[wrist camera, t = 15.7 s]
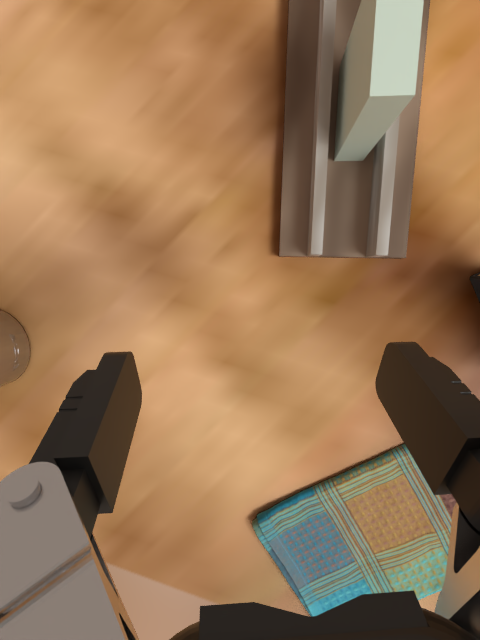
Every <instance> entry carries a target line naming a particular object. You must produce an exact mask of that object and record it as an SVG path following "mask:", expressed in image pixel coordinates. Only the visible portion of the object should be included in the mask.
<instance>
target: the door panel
mask: <svg viewBox="0 0 480 640" xmlns="http://www.w3.org/2000/svg"><path fill="white" fill-rule="evenodd" d="M423 4H424V0H361V3H360V6H359V9H358V12H357V15H356V18H355V22H354V25H353V28H352V31H351V34H350V37H349V40H348V43H347V46H346V49H345V52H344V55H343V58H342V61H341V64H340V70H339V87H338V104H337V121H336V138H335V155H334V161H363V160H364V159H365V157H366V156H367V155H368V154H369V152H370V151H371V150H372V149H373V147H374V146H375V145H376V144H377V142H378V141H379V140H380V139H381V137H382V136H383V135H384V134H385V132H386V131H387V130H388V128H389V127H390V126H391V125H392V123H393V122H394V121H395V120H396V118H397V117H398V116H399V115H400V113H401V112H402V111H403V110H404V108H405V107H406V106H407V105H408V103H409V102H410V101H411V100H412V98H413V97H414V96H415V92H416V81H417V70H418V59H419V48H420V37H421V26H422V15H423Z"/></svg>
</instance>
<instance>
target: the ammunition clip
mask: <svg viewBox="0 0 480 640" xmlns="http://www.w3.org/2000/svg"><path fill="white" fill-rule="evenodd" d="M470 281H471V283H472V285H473V288H474V290H475V293H476V295H477V298H478V300H479V302H480V272H479V273H477V274H475V275H473V276H471V277H470Z"/></svg>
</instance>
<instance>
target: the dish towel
mask: <svg viewBox="0 0 480 640" xmlns="http://www.w3.org/2000/svg"><path fill="white" fill-rule="evenodd" d="M455 504H456V500H455V499H454V497H453V495H452V494H445V495H434V494H433V493H432V491H431V489H430V487H429V486H428V484H427V482H426V480H425V479H424V477H423V475H422V473H421V471H420V470H419V468H418V466H417V464H416V463H415V461H414V459H413V457H412V456H411V454H410V452H409V450H408V449H407V447H406V445H405V444H403V445H400V446H398V447H396V448H394V449H392V450H390V451H388V452H386V453H384V454H383V455H380V456H378V457H376V458H375V459H372V460H370V461H368V462H365V463H363V464H361V465H359V466H356V467H355V468H352V469H351V470H348V471H346V472H344V473H341V474H339V475H338V476H335V477H332V478H330V479H328V480H325V481H323V482H321V483H319V484H317V485H315V486H312V487H310V488H308V489H306V490H303V491H301V492H299V493H297V494H295V495H294V496H292V497H289V498H288V499H286V500H283V501H281V502H280V503H278V504H276V505H274V506H273V507H272V508H270V509H268V510H266V511H264V512H261V513H259V514H257V518H256V519H254V520H253V521H252V526H253V529H254V531H255V533H256V535H257V537H258V538H259V540H260V541H261V543H262V544H263V546H264V547H265V548H266V550H267V551H268V552H269V554H270V555H271V557H272V558H273V560H274V561H275V563H276V564H277V566H278V567H279V569H280V570H281V572H282V574H283V575H284V577H285V578H286V580H287V582H288V583H289V585H290V586H291V588H292V589H293V591H294V592H295V593H296V595H297V596H298V598H299V599H300V601H301V603H302V604H303V605H304V607H305V608H306V610H307V611H308V613H309V614H310V615H311V617H312V616H317V615H319V614H321V613H323V612H326V611H328V610H330V609H332V608H334V607H336V606H338V605H341V604H343V603H345V602H347V601H349V600H351V599H353V598H356V597H358V596H360V595H362V594H373V593H387V592H400V591H414V592H415V594H416V597H417V599H418V600H419V599H421V598H424V597H426V596H428V595H431V594H434V593H436V592H438V591H441V590H442V587H443V584H444V581H445V576H446V568H447V559H448V549H449V540H450V531H451V522H452V513H453V508H454V506H455Z"/></svg>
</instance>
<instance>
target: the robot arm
mask: <svg viewBox="0 0 480 640" xmlns="http://www.w3.org/2000/svg"><path fill="white" fill-rule="evenodd" d="M29 358H30V346H29V340H28V338H27V335H26V333H25V331H24V329H23V328H22V326H21V325H20V324H19V323H18V321H17V320H16V319H15V318H13V317H12V316H11V315H9V314H8V313H6V312H4V311H2V310H0V386H3V385H5V384H7V383H10V382H12V381H14V380H16V379H17V378H19V377H20V376H21V375H22V373H23V372H24V371H25V369H26V367H27V365H28V362H29ZM376 391H377V395H378V397H379V399H380V401H381V403H382V404H383V406H384V408H385V410H386V412H387V413H388V415H389V417H390V419H391V420H392V422H393V424H394V426H395V427H396V429H397V431H398V433H399V434H400V436H401V438H402V440H403V441H404V443H405V445H406V447H407V449H408V450H409V452H410V454H411V456H412V457H413V459H414V461H415V463H416V464H417V466H418V468H419V470H420V471H421V473H422V475H423V477H424V479H425V480H426V482H427V484H428V486H429V487H430V489H431V491H432V493H433V494H434V495H445V494H452V495H453V497H454V499H455V500H456V504H455V506H454V508H453V513H452V522H451V531H450V540H449V549H448V559H447V568H446V576H445V581H444V584H443V587H442V590H441V592H440V594H439V597H438V600H437V604H436V608H435V613H434V612H431V611H429V610H426V609H423V608H421V607H420V604H419V602H418V599H417V597H416V594H415V592H414V591H400V592H387V593H373V594H362V595H360V596H358V597H356V598H353V599H351V600H349V601H347V602H345V603H343V604H341V605H338V606H336V607H334V608H332V609H330V610H328V611H326V612H323V613H321V614H319V615H317V616H312V617H309V616H304V615H300V614H296V613H293V612H289V611H285V610H281V609H277V608H274V607H270V606H266V605H262V604H259V603H255V602H250V603H237V604H223V605H211V606H210V605H209V606H200V621H199V622H197V623H195V624H192V625H190V626H188V627H187V628H185V629H184V630H182V631H180V632H179V633H177V634H176V635H175V636H173V637H172V638H171V639H170V640H480V401H479V400H478V398H477V397H476V396H475V395H474V394H471V391H470V390H469V389H468V387H467V386H466V385H465V384H464V383H461V380H460V379H459V378H458V377H457V375H456V374H455V373H454V372H453V371H452V370H451V369H450V368H449V367H447V366H446V365H444V364H443V363H441V362H440V361H438V360H437V359H435V358H434V357H429V356H428V355H427V354H426V353H425V351H424V350H423V349H422V348H421V347H420V346H419V345H418V344H417V343H416V342H392V343H388V344H387V346H386V348H385V351H384V354H383V357H382V360H381V364H380V367H379V370H378V374H377V377H376ZM141 402H142V390H141V385H140V381H139V377H138V372H137V368H136V364H135V360H134V356H133V354H132V352H109V353H105V354H104V355H103V357H102V359H101V361H100V363H99V365H98V367H97V369H96V370H87V371H86V372H85V373H83V374H82V375H81V376H80V377H79V378H78V379H77V380H76V381H75V382H74V383H73V384H72V386H71V388H70V390H69V392H68V393H67V395H66V399H65V400H64V401H63V403H62V404H61V406H60V408H59V412H57V414H56V415H55V417H54V419H53V421H52V423H51V425H50V426H49V428H48V430H47V432H46V434H45V436H44V437H43V439H42V441H41V443H40V445H39V447H38V448H37V450H36V452H35V454H34V456H33V458H32V459H31V461H30V463H29V464H28V465H25V466H23V467H21V468H18V469H17V470H15V471H13V472H12V473H10V474H9V475H8V476H6V477H5V478H4V479H3V480H2V481H1V482H0V640H139V638H138V636H137V633H136V631H135V629H134V627H133V624H132V622H131V620H130V618H129V616H128V614H127V611H126V609H125V607H124V605H123V603H122V600H121V598H120V596H119V593H118V591H117V589H116V586H115V584H114V581H113V579H112V577H111V574H110V572H109V570H108V567H107V565H106V562H105V560H104V558H103V555H102V553H101V550H100V548H99V546H98V543H97V541H96V539H95V536H94V534H93V532H92V531H93V528H94V524H95V521H96V518H97V515H98V514H102V513H112V512H113V509H114V505H115V501H116V497H117V494H118V490H119V486H120V483H121V479H122V475H123V471H124V468H125V464H126V460H127V457H128V453H129V449H130V445H131V442H132V438H133V434H134V431H135V427H136V423H137V419H138V416H139V412H140V408H141Z"/></svg>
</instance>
